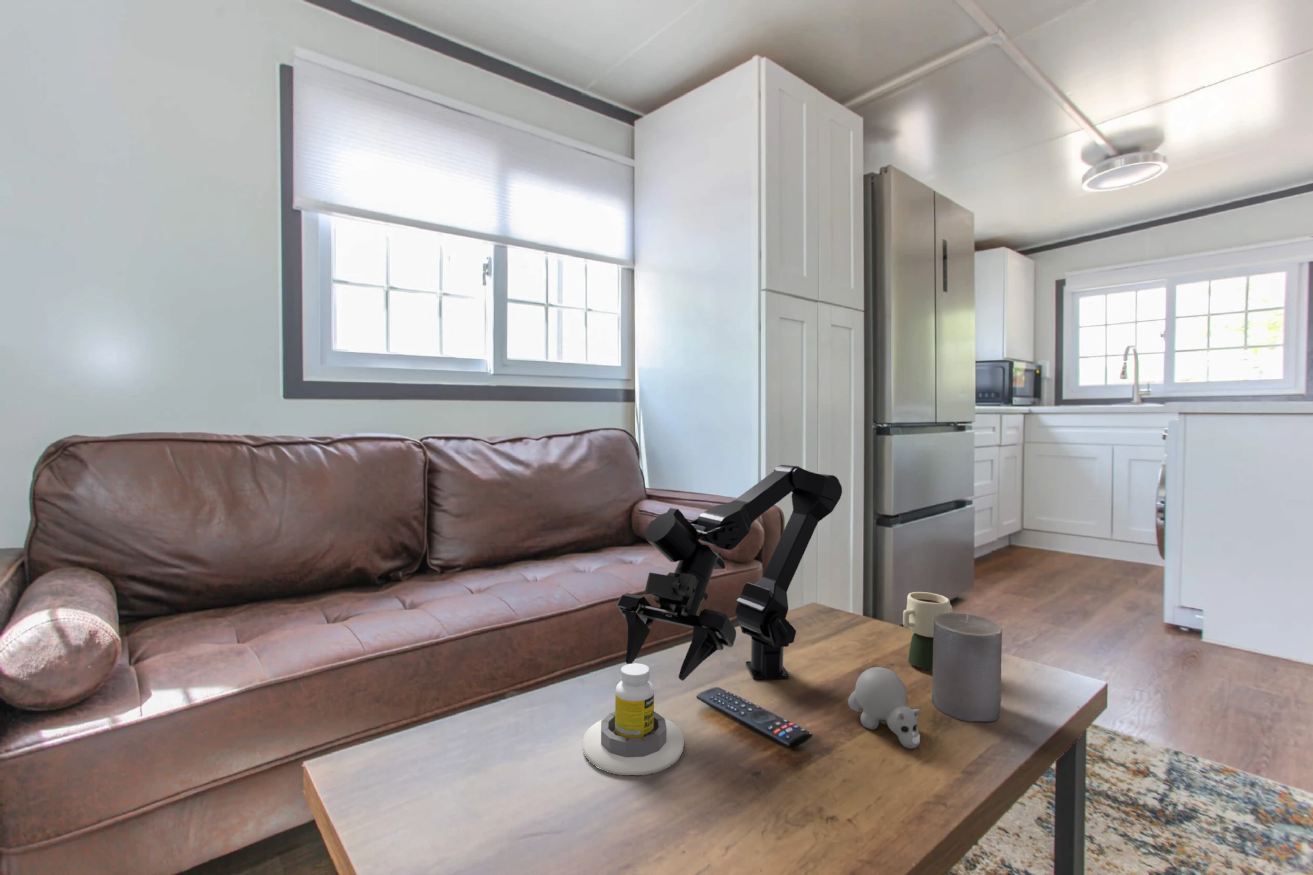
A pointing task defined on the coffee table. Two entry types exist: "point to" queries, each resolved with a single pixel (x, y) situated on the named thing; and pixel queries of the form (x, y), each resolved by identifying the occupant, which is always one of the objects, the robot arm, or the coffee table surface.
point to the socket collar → (633, 747)
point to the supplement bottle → (634, 702)
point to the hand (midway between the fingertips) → (653, 671)
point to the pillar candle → (967, 667)
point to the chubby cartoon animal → (885, 704)
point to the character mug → (923, 625)
